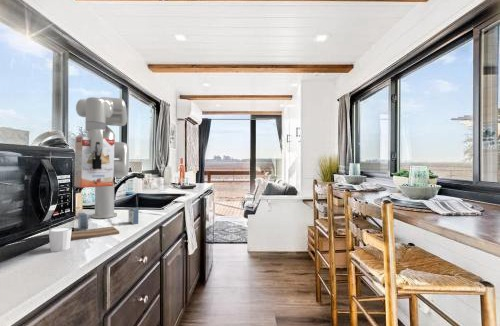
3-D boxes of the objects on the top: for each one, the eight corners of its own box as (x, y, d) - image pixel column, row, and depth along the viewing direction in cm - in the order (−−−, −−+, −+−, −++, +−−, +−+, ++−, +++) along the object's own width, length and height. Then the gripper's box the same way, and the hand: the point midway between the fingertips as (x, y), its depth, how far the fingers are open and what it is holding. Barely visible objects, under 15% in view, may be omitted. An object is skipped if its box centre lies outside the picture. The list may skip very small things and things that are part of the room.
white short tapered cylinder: (74, 249, 99) (74, 229, 99) (50, 253, 94) (51, 233, 94) (68, 244, 104) (68, 226, 104) (46, 249, 99) (46, 229, 98)
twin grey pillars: (78, 228, 128) (78, 213, 128) (134, 221, 144) (134, 208, 144) (80, 231, 123) (80, 215, 123) (138, 223, 139) (138, 209, 139)
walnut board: (66, 234, 117) (66, 232, 117) (112, 228, 129) (112, 226, 128) (70, 240, 109) (70, 238, 109) (119, 233, 120) (119, 231, 120)
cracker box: (81, 188, 111) (82, 136, 111) (73, 187, 115) (74, 136, 115) (114, 186, 123) (115, 138, 123) (106, 185, 127) (107, 139, 126)
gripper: (81, 128, 123) (81, 168, 123) (89, 124, 110) (88, 169, 110) (100, 129, 128) (100, 168, 128) (110, 126, 115) (109, 169, 115)
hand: (94, 168), depth 119 cm, fingers closed on cracker box, 7 cm apart
